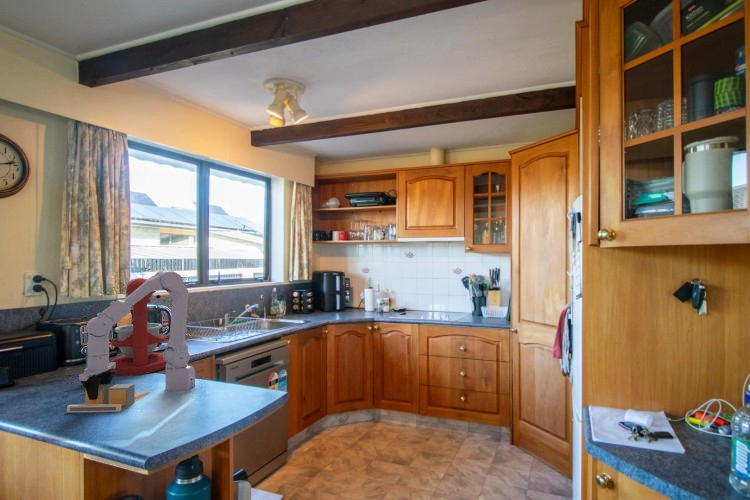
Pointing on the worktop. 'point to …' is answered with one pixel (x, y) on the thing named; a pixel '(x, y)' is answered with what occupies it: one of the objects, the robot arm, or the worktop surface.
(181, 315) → the robot arm
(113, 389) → the faced box
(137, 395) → the shelf board
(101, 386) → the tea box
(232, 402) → the worktop surface
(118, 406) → the rail
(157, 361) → the stand mixer
